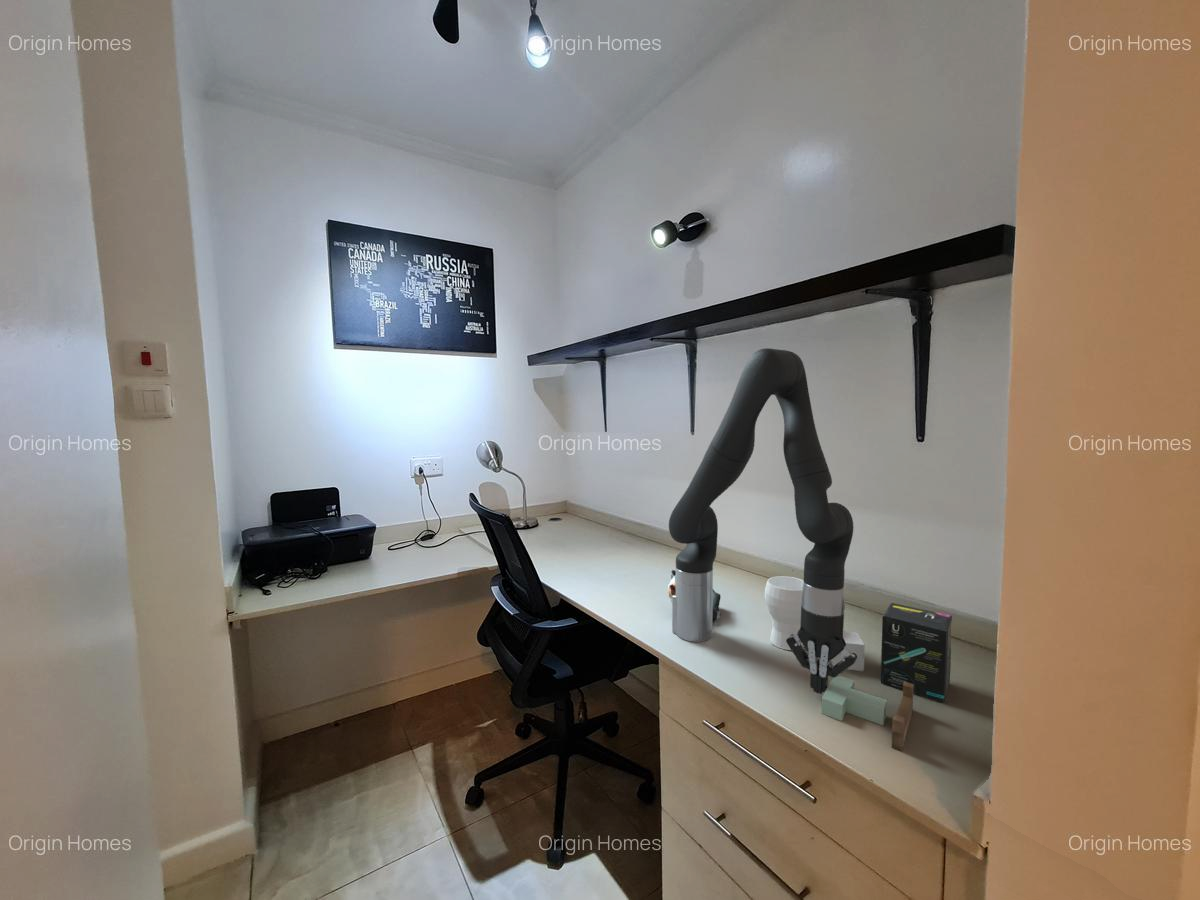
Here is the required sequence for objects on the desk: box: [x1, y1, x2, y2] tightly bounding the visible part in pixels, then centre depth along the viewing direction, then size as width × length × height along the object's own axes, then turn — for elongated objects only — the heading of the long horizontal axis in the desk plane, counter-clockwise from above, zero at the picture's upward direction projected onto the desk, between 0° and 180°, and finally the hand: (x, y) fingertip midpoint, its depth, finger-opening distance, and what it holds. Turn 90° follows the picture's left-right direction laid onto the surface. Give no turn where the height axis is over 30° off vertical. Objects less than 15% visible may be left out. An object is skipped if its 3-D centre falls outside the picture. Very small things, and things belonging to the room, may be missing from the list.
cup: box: [764, 575, 805, 651], centre depth 112 cm, size 11×11×15 cm
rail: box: [891, 681, 914, 752], centre depth 82 cm, size 2×14×5 cm, turn 140°
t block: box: [820, 675, 888, 726], centre depth 87 cm, size 10×10×3 cm
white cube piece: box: [830, 630, 866, 672], centre depth 103 cm, size 6×6×6 cm
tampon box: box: [880, 602, 953, 703], centre depth 95 cm, size 11×9×15 cm
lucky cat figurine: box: [667, 569, 721, 624], centre depth 129 cm, size 15×12×14 cm
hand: (818, 691), depth 91 cm, fingers closed
